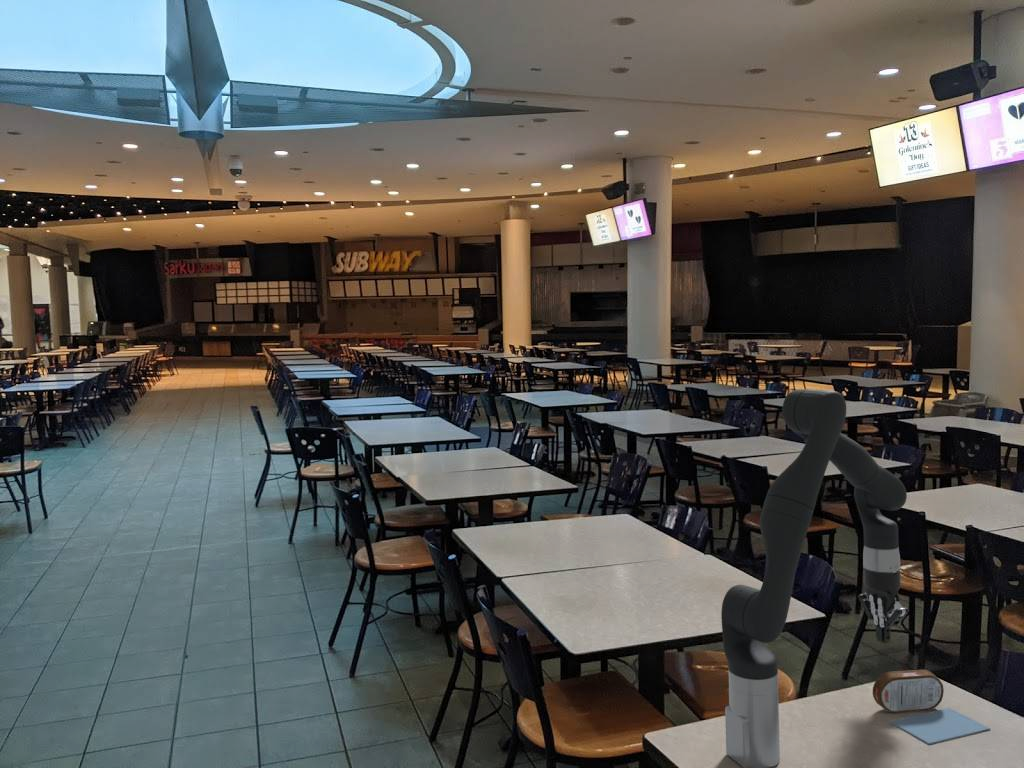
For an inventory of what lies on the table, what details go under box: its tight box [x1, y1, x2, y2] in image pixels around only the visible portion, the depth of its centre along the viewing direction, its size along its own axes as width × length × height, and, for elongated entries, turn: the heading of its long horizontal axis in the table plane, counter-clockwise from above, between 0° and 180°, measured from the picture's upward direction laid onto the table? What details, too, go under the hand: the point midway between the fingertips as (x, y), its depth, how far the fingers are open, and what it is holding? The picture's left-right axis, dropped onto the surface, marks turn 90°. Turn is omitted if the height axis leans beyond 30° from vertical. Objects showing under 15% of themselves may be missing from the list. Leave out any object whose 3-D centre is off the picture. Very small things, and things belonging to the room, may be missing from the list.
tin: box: [872, 669, 945, 714], centre depth 172 cm, size 15×3×8 cm, turn 95°
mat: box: [889, 707, 991, 746], centre depth 164 cm, size 16×10×1 cm, turn 108°
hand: (883, 641), depth 178 cm, fingers closed
